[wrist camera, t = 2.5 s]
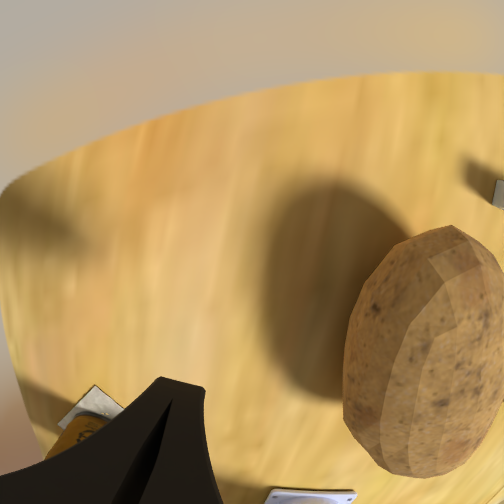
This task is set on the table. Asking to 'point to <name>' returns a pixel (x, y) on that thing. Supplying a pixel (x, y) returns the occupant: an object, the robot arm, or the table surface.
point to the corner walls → (499, 195)
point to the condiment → (85, 419)
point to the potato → (426, 354)
